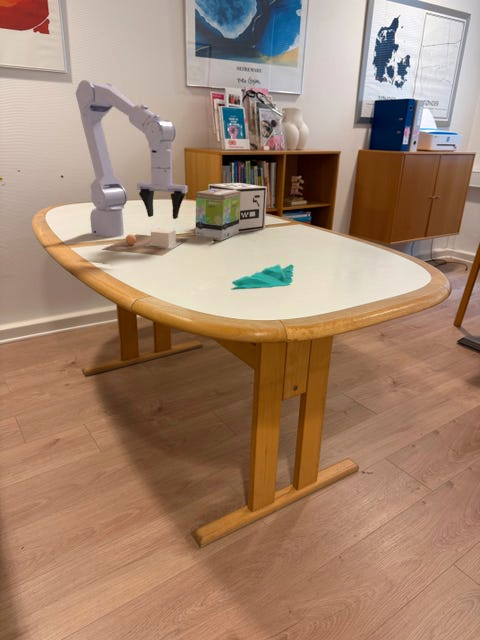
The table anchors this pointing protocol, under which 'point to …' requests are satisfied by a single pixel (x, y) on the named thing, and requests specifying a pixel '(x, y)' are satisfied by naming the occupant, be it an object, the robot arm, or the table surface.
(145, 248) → the board
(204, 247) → the table surface
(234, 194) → the tea box
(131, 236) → the orange ball
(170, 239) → the cream cube
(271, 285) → the cloth
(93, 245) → the table surface
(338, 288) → the table surface
